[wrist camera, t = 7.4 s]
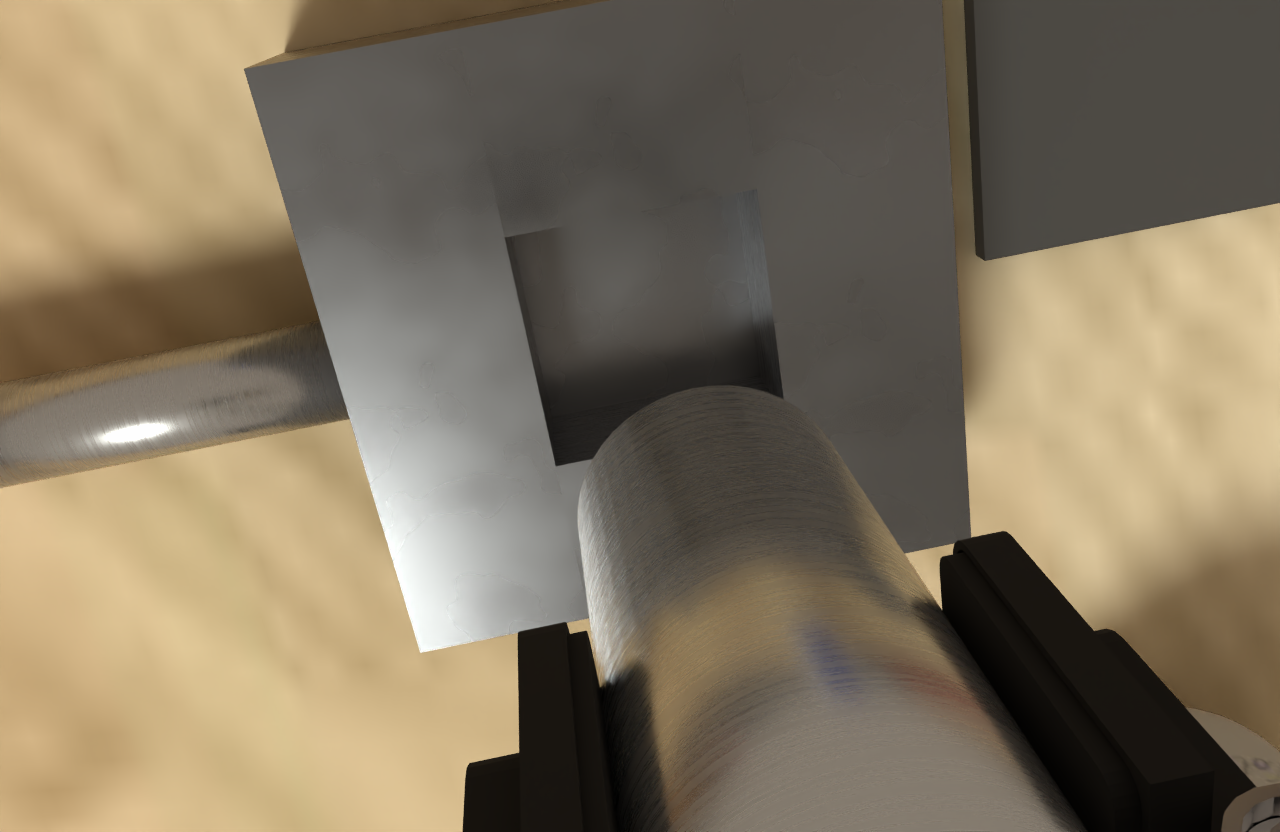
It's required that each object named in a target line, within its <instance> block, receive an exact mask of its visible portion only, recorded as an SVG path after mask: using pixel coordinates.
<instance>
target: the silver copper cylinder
mask: <svg viewBox="0 0 1280 832" xmlns="http://www.w3.org/2000/svg"><path fill="white" fill-rule="evenodd" d="M578 531H579V539H580V547H581V556H582V564H583V572H584V580H585V588H586V597H587V605H588V613H589V621H590V629H591V637H592V646H593V654H594V662H595V667H596V671H597V676H598V680H599V685H600V690H601V698H602V706H603V714H604V722H605V730H606V738H607V746H608V754H609V762H610V770H611V777H612V785H613V793H614V801H615V809H616V817H617V825H618V832H1088V830H1087V829H1086V827H1085V826H1084V824H1083V823H1082V821H1081V820H1080V818H1079V817H1078V815H1077V814H1076V812H1075V811H1074V809H1073V808H1072V806H1071V805H1070V803H1069V802H1068V800H1067V799H1066V797H1065V796H1064V794H1063V793H1062V791H1061V790H1060V788H1059V786H1058V785H1057V783H1056V782H1055V780H1054V779H1053V777H1052V776H1051V774H1050V773H1049V771H1048V770H1047V768H1046V767H1045V765H1044V764H1043V762H1042V761H1041V759H1040V758H1039V756H1038V755H1037V753H1036V752H1035V750H1034V749H1033V747H1032V746H1031V744H1030V743H1029V741H1028V740H1027V738H1026V737H1025V735H1024V734H1023V732H1022V731H1021V729H1020V728H1019V726H1018V724H1017V723H1016V721H1015V720H1014V718H1013V717H1012V715H1011V714H1010V712H1009V711H1008V709H1007V708H1006V706H1005V705H1004V703H1003V702H1002V700H1001V699H1000V697H999V696H998V694H997V693H996V691H995V690H994V688H993V687H992V685H991V684H990V682H989V681H988V679H987V678H986V676H985V675H984V673H983V672H982V670H981V669H980V667H979V666H978V664H977V662H976V661H975V659H974V658H973V656H972V655H971V653H970V652H969V650H968V649H967V647H966V646H965V644H964V643H963V641H962V640H961V638H960V637H959V635H958V634H957V632H956V631H955V629H954V628H953V626H952V625H951V623H950V622H949V620H948V619H947V617H946V616H945V614H944V613H943V611H942V610H941V608H940V607H939V605H938V604H937V602H936V600H935V599H934V597H933V596H932V594H931V593H930V591H929V590H928V588H927V587H926V585H925V584H924V582H923V581H922V579H921V578H920V576H919V575H918V573H917V572H916V570H915V569H914V567H913V566H912V564H911V563H910V561H909V560H908V558H907V557H906V555H905V554H904V552H903V551H902V549H901V548H900V546H899V545H898V543H897V542H896V540H895V538H894V537H893V535H892V534H891V532H890V531H889V529H888V528H887V526H886V525H885V523H884V522H883V520H882V519H881V517H880V516H879V514H878V513H877V511H876V510H875V508H874V507H873V505H872V504H871V502H870V501H869V499H868V498H867V496H866V495H865V493H864V492H863V490H862V489H861V487H860V486H859V484H858V483H857V481H856V480H855V478H854V476H853V475H852V473H851V472H850V470H849V469H848V467H847V466H846V464H845V463H844V461H843V460H842V458H841V457H840V455H839V454H838V452H837V451H836V449H835V448H834V446H833V445H832V443H831V442H830V440H829V439H828V437H827V436H826V435H825V433H824V432H823V431H822V429H821V428H820V427H819V426H818V425H817V424H816V423H815V422H814V421H813V420H812V419H811V418H810V417H809V416H808V415H807V414H806V413H804V412H803V411H802V410H800V409H799V408H798V407H796V406H795V405H793V404H791V403H789V402H787V401H786V400H784V399H782V398H780V397H777V396H775V395H772V394H770V393H767V392H764V391H760V390H756V389H752V388H748V387H739V386H730V385H726V386H706V387H699V388H692V389H688V390H684V391H681V392H677V393H674V394H671V395H669V396H666V397H664V398H661V399H659V400H656V401H655V402H653V403H651V404H649V405H647V406H646V407H644V408H642V409H640V410H639V411H637V412H636V413H635V414H633V415H632V416H631V417H629V418H628V419H626V420H625V421H624V422H623V423H622V424H621V425H620V426H619V427H618V428H617V429H615V430H614V431H613V432H612V434H611V435H610V436H609V437H608V438H607V440H606V441H605V442H604V443H603V444H602V445H601V447H600V449H599V450H598V452H597V453H596V455H595V456H594V458H593V460H592V461H591V464H590V466H589V468H588V470H587V472H586V474H585V477H584V480H583V484H582V487H581V490H580V496H579V502H578Z"/></svg>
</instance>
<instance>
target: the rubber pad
mask: <svg viewBox="0 0 1280 832" xmlns="http://www.w3.org/2000/svg"><path fill="white" fill-rule="evenodd" d="M964 10H965V32H966V53H967V75H968V96H969V117H970V139H971V160H972V182H973V203H974V225H975V246H976V255H977V256H978V257H980V258H981V259H983V260H984V261H987V260H992V259H997V258H1002V257H1007V256H1012V255H1017V254H1022V253H1027V252H1032V251H1037V250H1043V249H1048V248H1053V247H1058V246H1063V245H1068V244H1073V243H1078V242H1083V241H1088V240H1093V239H1098V238H1104V237H1109V236H1114V235H1119V234H1124V233H1129V232H1134V231H1139V230H1144V229H1149V228H1154V227H1159V226H1165V225H1170V224H1175V223H1180V222H1185V221H1190V220H1195V219H1200V218H1205V217H1210V216H1215V215H1220V214H1226V213H1231V212H1236V211H1241V210H1246V209H1251V208H1256V207H1261V206H1266V205H1271V204H1276V203H1280V0H964Z"/></svg>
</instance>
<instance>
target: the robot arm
mask: <svg viewBox="0 0 1280 832" xmlns="http://www.w3.org/2000/svg"><path fill="white" fill-rule="evenodd" d="M940 582H941V597H942V611H943V613H944V614H945V616H946V617H947V619H948V620H949V622H950V623H951V625H952V626H953V628H954V629H955V631H956V632H957V634H958V635H959V637H960V638H961V640H962V641H963V643H964V644H965V646H966V647H967V649H968V650H969V652H970V653H971V655H972V656H973V658H974V659H975V661H976V662H977V664H978V666H979V667H980V669H981V670H982V672H983V673H984V675H985V676H986V678H987V679H988V681H989V682H990V684H991V685H992V687H993V688H994V690H995V691H996V693H997V694H998V696H999V697H1000V699H1001V700H1002V702H1003V703H1004V705H1005V706H1006V708H1007V709H1008V711H1009V712H1010V714H1011V715H1012V717H1013V718H1014V720H1015V721H1016V723H1017V724H1018V726H1019V728H1020V729H1021V731H1022V732H1023V734H1024V735H1025V737H1026V738H1027V740H1028V741H1029V743H1030V744H1031V746H1032V747H1033V749H1034V750H1035V752H1036V753H1037V755H1038V756H1039V758H1040V759H1041V761H1042V762H1043V764H1044V765H1045V767H1046V768H1047V770H1048V771H1049V773H1050V774H1051V776H1052V777H1053V779H1054V780H1055V782H1056V783H1057V785H1058V786H1059V788H1060V790H1061V791H1062V793H1063V794H1064V796H1065V797H1066V799H1067V800H1068V802H1069V803H1070V805H1071V806H1072V808H1073V809H1074V811H1075V812H1076V814H1077V815H1078V817H1079V818H1080V820H1081V821H1082V823H1083V824H1084V826H1085V827H1086V829H1087V830H1088V832H1280V783H1277V784H1271V785H1266V786H1261V787H1256V786H1255V784H1254V783H1253V782H1252V781H1251V780H1250V779H1249V778H1248V777H1247V776H1246V774H1245V773H1244V772H1243V771H1242V770H1241V769H1240V768H1239V767H1238V766H1237V764H1236V763H1235V762H1234V761H1233V760H1232V759H1231V758H1230V757H1229V756H1228V754H1227V753H1226V752H1225V751H1224V750H1223V749H1222V748H1221V747H1220V746H1219V744H1218V743H1217V742H1216V741H1215V740H1214V739H1213V738H1212V737H1211V736H1210V734H1209V733H1208V732H1207V731H1206V730H1205V729H1204V728H1203V727H1202V725H1201V724H1200V723H1199V722H1198V721H1197V720H1196V719H1195V718H1194V717H1193V715H1192V714H1191V713H1190V712H1189V711H1188V710H1187V709H1186V708H1185V707H1184V705H1183V704H1182V703H1181V702H1180V701H1179V700H1178V699H1177V698H1176V697H1175V695H1174V694H1173V693H1172V692H1171V691H1170V690H1169V689H1168V688H1167V687H1166V685H1165V684H1164V683H1163V682H1162V681H1161V680H1160V679H1159V678H1158V676H1157V675H1156V674H1155V673H1154V672H1153V671H1152V670H1151V669H1150V668H1149V666H1148V665H1147V664H1146V663H1145V662H1144V661H1143V660H1142V659H1141V658H1140V656H1139V655H1138V654H1137V653H1136V652H1135V651H1134V650H1133V649H1132V648H1131V646H1130V645H1129V644H1128V643H1127V642H1126V641H1125V640H1124V639H1123V638H1122V637H1121V636H1120V635H1119V634H1117V633H1116V632H1115V631H1112V630H1109V629H1103V630H1098V631H1093V629H1092V628H1091V627H1090V626H1089V625H1088V624H1087V623H1086V621H1085V620H1084V619H1083V618H1082V617H1081V616H1080V614H1079V613H1078V612H1077V611H1076V610H1075V609H1074V607H1073V606H1072V605H1071V604H1070V603H1069V602H1068V601H1067V599H1066V598H1065V597H1064V596H1063V595H1062V594H1061V592H1060V591H1059V590H1058V589H1057V588H1056V587H1055V585H1054V584H1053V583H1052V582H1051V581H1050V580H1049V579H1048V577H1047V576H1046V575H1045V574H1044V573H1043V572H1042V570H1041V569H1040V568H1039V567H1038V566H1037V565H1036V564H1035V562H1034V561H1033V560H1032V559H1031V558H1030V557H1029V555H1028V554H1027V553H1026V552H1025V551H1024V550H1023V548H1022V547H1021V546H1020V545H1019V544H1018V543H1017V542H1016V540H1015V539H1014V538H1013V537H1012V536H1011V535H1010V534H1009V533H1008V532H1005V531H1001V532H996V533H991V534H987V535H982V536H977V537H972V538H967V539H962V540H958V541H956V543H955V544H954V549H953V555H948V556H943V557H942V558H941V560H940ZM518 689H519V753H516V754H511V755H506V756H502V757H497V758H492V759H487V760H483V761H478V762H473V763H469V765H468V767H467V770H466V778H465V797H464V817H463V832H618V825H617V817H616V809H615V801H614V793H613V785H612V777H611V770H610V762H609V754H608V746H607V738H606V730H605V722H604V714H603V706H602V698H601V690H600V685H599V680H598V676H597V671H596V667H595V662H594V658H593V654H592V649H591V645H590V641H589V636H588V633H587V631H582V632H578V633H573V634H570V633H569V629H568V626H567V623H566V622H562V623H557V624H553V625H548V626H543V627H538V628H533V629H528V630H524V631H519V632H518Z"/></svg>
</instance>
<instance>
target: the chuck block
mask: <svg viewBox="0 0 1280 832" xmlns="http://www.w3.org/2000/svg"><path fill="white" fill-rule="evenodd" d="M244 71H245V74H246V77H247V81H248V84H249V87H250V91H251V94H252V97H253V101H254V104H255V107H256V110H257V114H258V117H259V120H260V124H261V127H262V130H263V134H264V137H265V140H266V144H267V147H268V150H269V153H270V157H271V160H272V163H273V167H274V170H275V173H276V177H277V180H278V183H279V186H280V190H281V193H282V196H283V200H284V203H285V206H286V210H287V213H288V216H289V220H290V223H291V226H292V229H293V233H294V236H295V239H296V243H297V246H298V249H299V253H300V256H301V259H302V263H303V266H304V269H305V272H306V276H307V279H308V282H309V286H310V289H311V292H312V296H313V299H314V302H315V305H316V309H317V312H318V315H319V319H320V321H317V322H311V323H306V324H301V325H296V326H291V327H286V328H281V329H276V330H270V331H265V332H260V333H255V334H250V335H245V336H240V337H234V338H229V339H224V340H219V341H214V342H209V343H204V344H198V345H193V346H188V347H183V348H178V349H173V350H168V351H162V352H157V353H152V354H147V355H142V356H137V357H132V358H127V359H121V360H116V361H111V362H106V363H101V364H96V365H91V366H85V367H80V368H75V369H70V370H65V371H60V372H55V373H49V374H44V375H39V376H34V377H29V378H24V379H19V380H13V381H8V382H3V383H0V488H3V487H9V486H14V485H19V484H24V483H29V482H34V481H39V480H44V479H49V478H54V477H59V476H64V475H69V474H74V473H79V472H84V471H89V470H95V469H100V468H105V467H110V466H115V465H120V464H125V463H130V462H135V461H140V460H145V459H150V458H155V457H160V456H165V455H170V454H175V453H181V452H186V451H191V450H196V449H201V448H206V447H211V446H216V445H221V444H226V443H231V442H236V441H241V440H246V439H251V438H256V437H261V436H267V435H272V434H277V433H282V432H287V431H292V430H297V429H302V428H307V427H312V426H317V425H322V424H327V423H332V422H337V421H342V420H347V419H350V421H351V424H352V428H353V431H354V434H355V438H356V441H357V444H358V448H359V451H360V454H361V458H362V461H363V464H364V467H365V471H366V474H367V477H368V481H369V484H370V487H371V491H372V494H373V497H374V500H375V504H376V507H377V510H378V514H379V517H380V520H381V524H382V527H383V530H384V534H385V537H386V540H387V543H388V547H389V550H390V553H391V557H392V560H393V563H394V567H395V570H396V573H397V577H398V580H399V583H400V586H401V590H402V593H403V596H404V600H405V603H406V606H407V610H408V613H409V616H410V619H411V623H412V626H413V629H414V633H415V636H416V639H417V643H418V646H419V649H420V653H421V652H426V651H431V650H436V649H441V648H446V647H450V646H455V645H460V644H465V643H470V642H475V641H480V640H485V639H489V638H494V637H499V636H504V635H509V634H514V633H518V632H519V631H524V630H528V629H533V628H538V627H543V626H548V625H553V624H557V623H562V622H566V623H568V622H572V621H577V620H582V619H587V618H589V613H588V605H587V597H586V588H585V580H584V572H583V564H582V556H581V547H580V539H579V531H578V502H579V496H580V490H581V487H582V484H583V480H584V477H585V474H586V472H587V470H588V468H589V466H590V464H591V461H592V460H593V458H594V456H595V455H596V453H597V452H598V450H599V449H600V447H601V445H602V444H603V443H604V442H605V441H606V440H607V438H608V437H609V436H610V435H611V434H612V432H613V431H614V430H615V429H617V428H618V427H619V426H620V425H621V424H622V423H623V422H624V421H625V420H626V419H628V418H629V417H631V416H632V415H633V414H635V413H636V412H637V411H639V410H640V409H642V408H644V407H646V406H647V405H649V404H651V403H653V402H655V401H656V400H659V399H661V398H664V397H666V396H669V395H671V394H674V393H677V392H681V391H684V390H688V389H692V388H699V387H706V386H726V385H730V386H739V387H748V388H752V389H756V390H760V391H764V392H767V393H770V394H772V395H775V396H777V397H780V398H782V399H784V400H786V401H787V402H789V403H791V404H793V405H795V406H796V407H798V408H799V409H800V410H802V411H803V412H804V413H806V414H807V415H808V416H809V417H810V418H811V419H812V420H813V421H814V422H815V423H816V424H817V425H818V426H819V427H820V428H821V429H822V431H823V432H824V433H825V435H826V436H827V437H828V439H829V440H830V442H831V443H832V445H833V446H834V448H835V449H836V451H837V452H838V454H839V455H840V457H841V458H842V460H843V461H844V463H845V464H846V466H847V467H848V469H849V470H850V472H851V473H852V475H853V476H854V478H855V480H856V481H857V483H858V484H859V486H860V487H861V489H862V490H863V492H864V493H865V495H866V496H867V498H868V499H869V501H870V502H871V504H872V505H873V507H874V508H875V510H876V511H877V513H878V514H879V516H880V517H881V519H882V520H883V522H884V523H885V525H886V526H887V528H888V529H889V531H890V532H891V534H892V535H893V537H894V538H895V540H896V542H897V543H898V545H899V546H900V548H901V549H902V551H903V552H904V553H909V552H914V551H919V550H924V549H929V548H934V547H938V546H943V545H948V544H953V543H956V541H958V540H962V539H967V538H971V527H970V508H969V490H968V471H967V453H966V435H965V416H964V398H963V379H962V361H961V343H960V324H959V306H958V287H957V269H956V250H955V232H954V214H953V195H952V177H951V158H950V140H949V122H948V103H947V85H946V66H945V48H944V30H943V11H942V0H565V1H559V2H554V3H549V4H543V5H538V6H532V7H527V8H522V9H516V10H511V11H506V12H500V13H495V14H490V15H484V16H479V17H474V18H468V19H463V20H457V21H452V22H447V23H441V24H436V25H431V26H425V27H420V28H415V29H409V30H404V31H399V32H393V33H388V34H382V35H377V36H372V37H366V38H361V39H356V40H350V41H345V42H340V43H334V44H329V45H323V46H318V47H313V48H307V49H302V50H297V51H291V52H286V53H282V54H280V55H277V56H275V57H272V58H270V59H267V60H265V61H262V62H260V63H257V64H255V65H253V66H250V67H248V68H245V69H244Z"/></svg>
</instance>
